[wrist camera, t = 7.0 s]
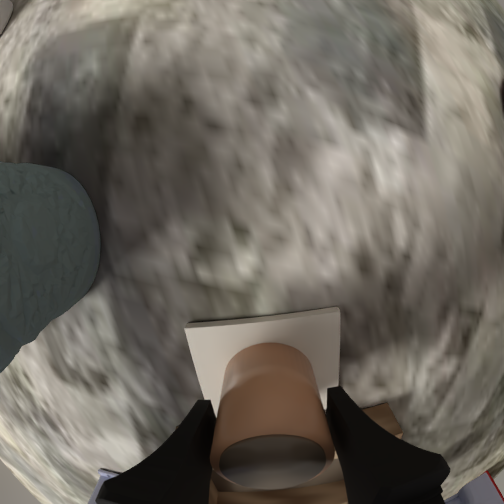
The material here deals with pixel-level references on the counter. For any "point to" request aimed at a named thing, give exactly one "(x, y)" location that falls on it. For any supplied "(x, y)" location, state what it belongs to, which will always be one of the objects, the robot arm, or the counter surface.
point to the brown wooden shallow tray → (308, 493)
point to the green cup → (42, 250)
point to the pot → (270, 420)
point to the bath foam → (5, 13)
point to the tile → (266, 331)
